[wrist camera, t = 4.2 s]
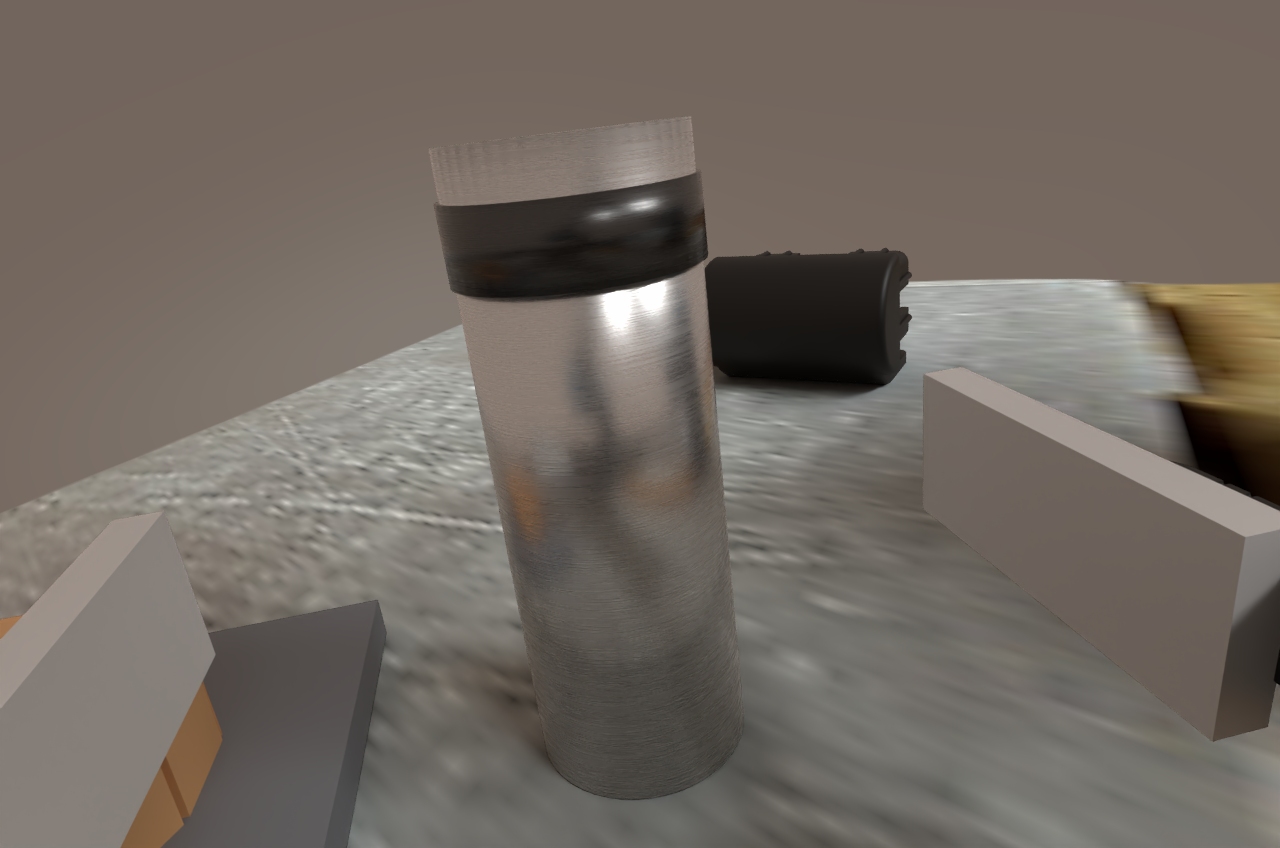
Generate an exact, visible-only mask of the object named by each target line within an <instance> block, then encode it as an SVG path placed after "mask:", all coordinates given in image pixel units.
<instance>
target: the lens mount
mask: <svg viewBox="0 0 1280 848" xmlns="http://www.w3.org/2000/svg"><path fill="white" fill-rule="evenodd" d="M22 616H23V615H21V616H16V617H11V618H6V619H0V639H1V638H2V637H3V636H4V635H5V634H6V633H7V632H8V631H9V630H10V629H11V628H12V627H13V626H14V625H15V624H16V622H17V621H18V620H19V619H20V618H21V617H22ZM386 633H387V632H386V629H385V625H384V621H383V617H382V614H381V610H380V606H379V602H378V600H374V601H369V602H364V603H359V604H354V605H349V606H344V607H339V608H334V609H328V610H323V611H318V612H313V613H308V614H303V615H298V616H293V617H288V618H283V619H278V620H273V621H268V622H263V623H258V624H252V625H247V626H242V627H237V628H232V629H227V630H222V631H217V632H212V633H208V634H209V637H210V640H211V643H212V646H213V648H214V651H215V654H216V655H215V657H214V659H213V661H212V663H211V665H210V667H209V669H208V671H207V673H206V675H205V677H204V679H203V681H202V683H201V685H200V687H199V689H198V691H197V693H196V695H195V698H194V700H193V702H192V704H191V706H190V708H189V710H188V712H187V714H186V716H185V718H184V720H183V722H182V724H181V726H180V728H179V730H178V732H177V734H176V736H175V738H174V740H173V742H172V744H171V746H170V748H169V750H168V752H167V754H166V756H165V758H164V760H163V762H162V764H161V766H160V768H159V770H158V772H157V774H156V777H155V779H154V781H153V783H152V785H151V787H150V789H149V791H148V793H147V795H146V797H145V799H144V801H143V803H142V805H141V807H140V809H139V811H138V813H137V815H136V817H135V819H134V821H133V823H132V825H131V827H130V829H129V831H128V833H127V835H126V837H125V839H124V841H123V843H122V845H121V847H120V848H347V844H348V838H349V833H350V827H351V822H352V817H353V811H354V806H355V800H356V795H357V790H358V784H359V779H360V773H361V768H362V762H363V757H364V752H365V746H366V741H367V735H368V730H369V725H370V719H371V714H372V708H373V703H374V698H375V692H376V687H377V681H378V676H379V671H380V665H381V660H382V654H383V649H384V643H385V638H386Z"/></svg>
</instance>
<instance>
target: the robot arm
mask: <svg viewBox="0 0 1280 848" xmlns="http://www.w3.org/2000/svg"><path fill="white" fill-rule="evenodd" d="M923 509H924V510H925V511H927V512H928V513H929V514H930V515H932V516H933V517H934V518H935V519H937V520H938V521H939V522H940V523H941V524H943V525H944V526H945V527H946V528H948V529H949V530H950V531H951V532H953V533H954V534H955V535H956V536H958V537H959V538H960V539H961V540H963V541H964V542H965V543H966V544H968V545H969V546H970V547H971V548H973V549H974V550H975V551H976V552H978V553H979V554H980V555H981V556H983V557H984V558H985V559H986V560H987V561H989V562H990V563H991V564H992V565H994V566H995V567H996V568H997V569H999V570H1000V571H1001V572H1002V573H1004V574H1005V575H1006V576H1007V577H1009V578H1010V579H1011V580H1012V581H1014V582H1015V583H1016V584H1017V585H1019V586H1020V587H1021V588H1022V589H1024V590H1025V591H1026V592H1027V593H1028V594H1030V595H1031V596H1032V597H1033V598H1035V599H1036V600H1037V601H1038V602H1040V603H1041V604H1042V605H1043V606H1045V607H1046V608H1047V609H1048V610H1050V611H1051V612H1052V613H1053V614H1055V615H1056V616H1057V617H1058V618H1060V619H1061V620H1062V621H1063V622H1065V623H1066V624H1067V625H1068V626H1069V627H1071V628H1072V629H1073V630H1074V631H1076V632H1077V633H1078V634H1079V635H1081V636H1082V637H1083V638H1084V639H1086V640H1087V641H1088V642H1089V643H1091V644H1092V645H1093V646H1094V647H1096V648H1097V649H1098V650H1099V651H1101V652H1102V653H1103V654H1104V655H1106V656H1107V657H1108V658H1109V659H1110V660H1112V661H1113V662H1114V663H1115V664H1117V665H1118V666H1119V667H1120V668H1122V669H1123V670H1124V671H1125V672H1127V673H1128V674H1129V675H1130V676H1132V677H1133V678H1134V679H1135V680H1137V681H1138V682H1139V683H1140V684H1142V685H1143V686H1144V687H1145V688H1147V689H1148V690H1149V691H1150V692H1151V693H1153V694H1154V695H1155V696H1156V697H1158V698H1159V699H1160V700H1161V701H1163V702H1164V703H1165V704H1166V705H1168V706H1169V707H1170V708H1171V709H1173V710H1174V711H1175V712H1176V713H1178V714H1179V715H1180V716H1181V717H1183V718H1184V719H1185V720H1186V721H1188V722H1189V723H1190V724H1191V725H1192V726H1194V727H1195V728H1196V729H1197V730H1199V731H1200V732H1201V733H1202V734H1204V735H1205V736H1206V737H1207V738H1209V739H1210V740H1211V741H1216V740H1220V739H1224V738H1227V737H1231V736H1235V735H1239V734H1242V733H1246V732H1250V731H1254V730H1257V729H1261V728H1265V727H1268V723H1269V718H1270V713H1271V707H1272V702H1273V697H1274V692H1275V686H1276V683H1277V684H1279V685H1280V506H1279V505H1276V504H1274V503H1272V502H1270V501H1267V500H1265V499H1263V498H1261V497H1259V496H1254V497H1251V495H1250V492H1247V491H1245V490H1243V489H1241V488H1238V487H1236V486H1234V485H1232V484H1226V485H1225V484H1224V482H1223V480H1221V479H1218V478H1216V477H1214V476H1212V475H1209V474H1207V473H1205V472H1203V471H1200V470H1198V469H1196V468H1194V467H1192V466H1188V465H1184V464H1180V463H1176V462H1172V461H1168V460H1166V459H1164V458H1162V457H1159V456H1157V455H1155V454H1153V453H1151V452H1148V451H1146V450H1144V449H1142V448H1140V447H1137V446H1135V445H1133V444H1131V443H1129V442H1126V441H1124V440H1122V439H1120V438H1118V437H1115V436H1113V435H1111V434H1109V433H1107V432H1104V431H1102V430H1100V429H1098V428H1096V427H1093V426H1091V425H1089V424H1087V423H1085V422H1082V421H1080V420H1078V419H1076V418H1074V417H1071V416H1069V415H1067V414H1065V413H1063V412H1060V411H1058V410H1056V409H1054V408H1052V407H1049V406H1047V405H1045V404H1043V403H1041V402H1038V401H1036V400H1034V399H1032V398H1030V397H1027V396H1025V395H1023V394H1021V393H1018V392H1016V391H1014V390H1012V389H1010V388H1007V387H1005V386H1003V385H1001V384H999V383H996V382H994V381H992V380H990V379H988V378H985V377H983V376H981V375H979V374H977V373H974V372H972V371H970V370H968V369H966V368H963V367H958V368H952V369H947V370H941V371H936V372H930V373H925V374H924V383H923ZM215 655H216V654H215V651H214V648H213V646H212V643H211V640H210V637H209V634H208V632H207V629H206V626H205V623H204V621H203V618H202V615H201V612H200V609H199V607H198V604H197V601H196V598H195V595H194V593H193V590H192V587H191V584H190V581H189V579H188V576H187V573H186V570H185V567H184V565H183V562H182V559H181V556H180V554H179V551H178V548H177V545H176V542H175V540H174V537H173V534H172V531H171V528H170V526H169V523H168V520H167V517H166V514H165V512H164V511H161V512H155V513H149V514H144V515H138V516H133V517H127V518H122V519H116V520H113V521H112V522H111V523H110V524H109V525H108V526H107V527H106V528H105V529H104V530H103V531H102V532H101V533H100V534H99V535H98V536H97V538H96V539H95V540H94V541H93V542H92V543H91V544H90V545H89V546H88V547H87V548H86V549H85V550H84V551H83V552H82V553H81V555H80V556H79V557H78V558H77V559H76V560H75V561H74V562H73V563H72V564H71V565H70V566H69V567H68V568H67V569H66V570H65V572H64V573H63V574H62V575H61V576H60V577H59V578H58V579H57V580H56V581H55V582H54V583H53V584H52V585H51V586H50V587H49V589H48V590H47V591H46V592H45V593H44V594H43V595H42V596H41V597H40V598H39V599H38V600H37V601H36V602H35V603H34V604H33V605H32V607H31V608H30V609H29V610H28V611H27V612H26V613H25V614H24V615H23V616H22V617H21V618H20V619H19V620H18V621H17V622H16V624H15V625H14V626H13V627H12V628H11V629H10V630H9V631H8V632H7V633H6V634H5V635H4V636H3V637H2V638H1V639H0V848H120V847H121V845H122V843H123V841H124V839H125V837H126V835H127V833H128V831H129V829H130V827H131V825H132V823H133V821H134V819H135V817H136V815H137V813H138V811H139V809H140V807H141V805H142V803H143V801H144V799H145V797H146V795H147V793H148V791H149V789H150V787H151V785H152V783H153V781H154V779H155V777H156V774H157V772H158V770H159V768H160V766H161V764H162V762H163V760H164V758H165V756H166V754H167V752H168V750H169V748H170V746H171V744H172V742H173V740H174V738H175V736H176V734H177V732H178V730H179V728H180V726H181V724H182V722H183V720H184V718H185V716H186V714H187V712H188V710H189V708H190V706H191V704H192V702H193V700H194V698H195V695H196V693H197V691H198V689H199V687H200V685H201V683H202V681H203V679H204V677H205V675H206V673H207V671H208V669H209V667H210V665H211V663H212V661H213V659H214V657H215Z"/></svg>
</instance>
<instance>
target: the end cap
mask: <svg viewBox="0 0 1280 848" xmlns="http://www.w3.org/2000/svg"><path fill="white" fill-rule="evenodd" d="M704 270H705V281H706V293H707V304H708V316H709V327H710V338H711V350H712V361H713V365H714V366H716V367H718V368H719V369H720V370H721V371H722V372H723V373H725V374H726V375H730V376H748V377H766V378H785V379H803V380H822V381H840V382H858V383H877V384H887V383H890V382H891V381H892V380H893V378H894V377H895V376H896V375H897V373H898V372H899V371H900V369H901V368H902V367H903V366H904V364H905V363H906V351H904V350H900V340H901V339H902V338H903V337H904V336H905V335H906V333H907V331H908V322H909V321H910V320H911V318H912V316H911V315H910V314H908V307H900V291H901V290H902V289H903V288H904V287H905V286H906V285H907V284H908V279H910V278H911V276H912V274H911V273H910V272H908V259H907V256H906V255H905V254H904V253H903V252H900V251H889V250H888V249H887V248H884V249H882V250H881V251H867V252H864V250H863V249H859V250H857V251H856V252H850V253H849V254H819V255H800V253H792V252H791V251H787V252H785V253H783V254H770V253H769V252H768V251H767V252H764V253H762V254H759V255H756V256H739V257H716V258H714V259H713V260H712V261H710V262H709V264H708V265H707V266H706V268H705V269H704Z"/></svg>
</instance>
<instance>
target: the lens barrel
mask: <svg viewBox="0 0 1280 848" xmlns="http://www.w3.org/2000/svg"><path fill="white" fill-rule="evenodd" d="M428 150H429V155H430V160H431V165H432V170H433V175H434V181H435V186H436V191H437V195H438V201H439V202H436V203H435V204H434V208H435V213H436V218H437V224H438V228H439V234H440V239H441V243H442V249H443V254H444V259H445V264H446V269H447V274H448V279H449V284H450V289H451V290H452V291H453V292H455V293H457V297H458V303H459V308H460V313H461V318H462V323H463V329H464V334H465V339H466V344H467V349H468V354H469V359H470V364H471V369H472V374H473V379H474V385H475V390H476V395H477V400H478V405H479V410H480V415H481V420H482V425H483V430H484V435H485V441H486V446H487V451H488V456H489V461H490V466H491V471H492V476H493V481H494V486H495V491H496V497H497V502H498V507H499V512H500V517H501V522H502V527H503V532H504V537H505V542H506V547H507V553H508V558H509V563H510V568H511V573H512V578H513V583H514V588H515V593H516V598H517V603H518V609H519V614H520V619H521V624H522V629H523V634H524V639H525V644H526V649H527V654H528V659H529V665H530V670H531V675H532V680H533V685H534V690H535V695H536V700H537V705H538V710H539V715H540V720H541V726H542V731H543V736H544V741H545V746H546V750H547V754H548V756H549V758H550V761H551V762H552V764H553V765H554V767H555V768H556V770H557V771H558V772H559V773H560V774H561V775H562V776H563V777H564V778H565V779H567V780H568V781H569V782H571V783H572V784H574V785H576V786H577V787H579V788H581V789H583V790H586V791H588V792H591V793H593V794H597V795H601V796H605V797H610V798H618V799H645V798H654V797H659V796H664V795H668V794H671V793H675V792H678V791H681V790H683V789H686V788H688V787H691V786H693V785H695V784H696V783H698V782H700V781H702V780H704V779H705V778H707V777H708V776H710V775H711V774H712V773H714V772H715V771H716V770H717V769H719V768H720V767H721V766H722V765H723V764H724V763H725V762H726V761H727V759H728V758H729V757H730V756H731V755H732V753H733V752H734V750H735V748H736V747H737V745H738V743H739V740H740V738H741V735H742V731H743V726H744V714H743V702H742V691H741V679H740V668H739V657H738V645H737V634H736V623H735V611H734V600H733V588H732V577H731V566H730V554H729V543H728V532H727V520H726V509H725V497H724V486H723V475H722V463H721V452H720V441H719V429H718V418H717V407H716V395H715V384H714V372H713V361H712V350H711V338H710V327H709V316H708V304H707V293H706V281H705V270H704V260H705V259H706V258H707V256H708V247H707V235H706V223H705V213H704V200H703V188H702V176H701V170H699V169H696V168H695V157H694V145H693V134H692V122H691V116H687V117H678V118H671V119H662V120H654V121H646V122H638V123H630V124H621V125H613V126H605V127H598V128H589V129H581V130H574V131H565V132H557V133H549V134H541V135H533V136H525V137H516V138H508V139H501V140H492V141H485V142H476V143H468V144H461V145H453V146H445V147H436V148H429V149H428Z"/></svg>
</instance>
